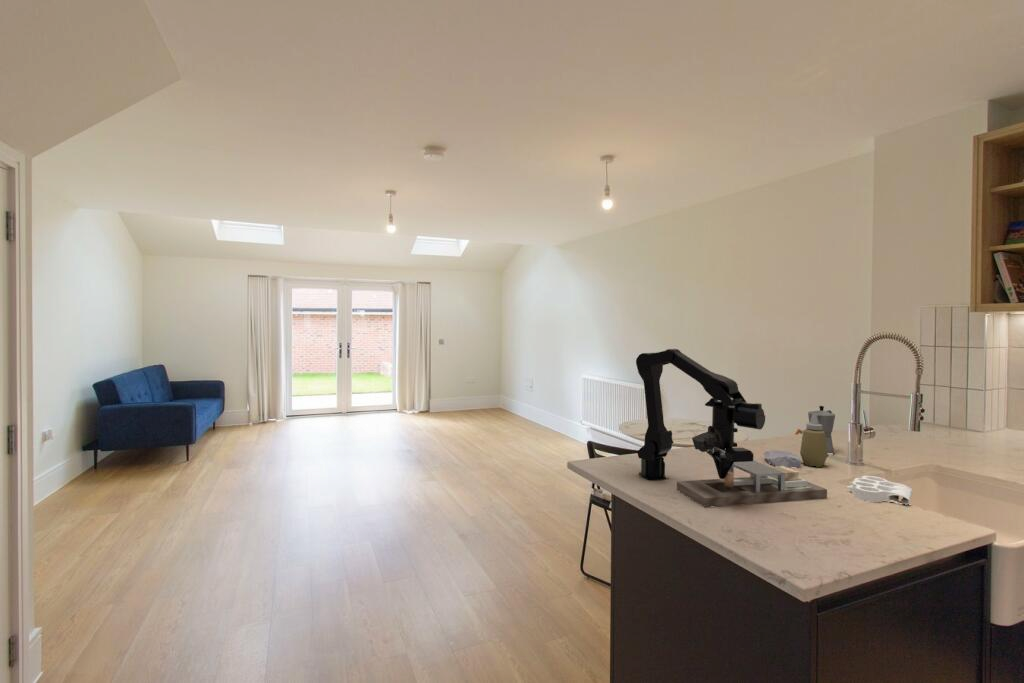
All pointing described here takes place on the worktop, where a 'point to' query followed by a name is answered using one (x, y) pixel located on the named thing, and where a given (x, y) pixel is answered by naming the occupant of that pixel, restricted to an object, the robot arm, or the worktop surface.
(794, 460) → the stone block
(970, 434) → the worktop surface
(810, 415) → the coffeepot
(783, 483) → the tunnel
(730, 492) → the deck
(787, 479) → the block
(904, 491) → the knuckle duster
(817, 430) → the squeeze bottle
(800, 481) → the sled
